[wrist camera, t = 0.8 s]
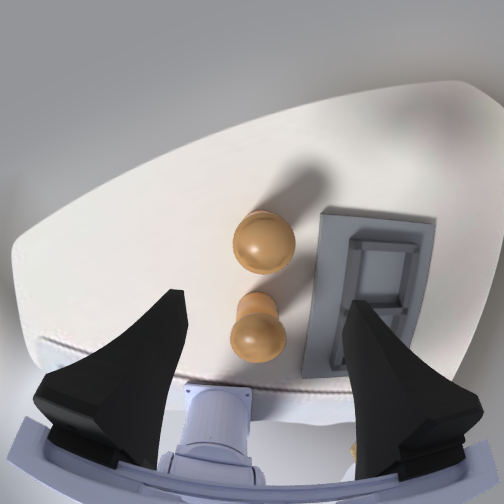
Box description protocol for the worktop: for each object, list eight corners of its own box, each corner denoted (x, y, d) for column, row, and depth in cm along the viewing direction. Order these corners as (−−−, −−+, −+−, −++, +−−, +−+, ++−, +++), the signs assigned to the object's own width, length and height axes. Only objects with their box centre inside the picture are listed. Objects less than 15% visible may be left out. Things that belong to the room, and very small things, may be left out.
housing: (398, 366, 31) (406, 377, 28) (300, 373, 31) (304, 386, 28) (430, 224, 27) (443, 227, 24) (320, 213, 27) (327, 216, 24)
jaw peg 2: (277, 330, 29) (283, 363, 23) (233, 329, 29) (230, 361, 23) (281, 290, 28) (288, 316, 22) (234, 288, 28) (230, 314, 22)
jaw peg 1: (283, 256, 28) (292, 275, 22) (235, 254, 27) (231, 273, 22) (287, 208, 26) (297, 214, 21) (237, 205, 26) (233, 211, 21)
